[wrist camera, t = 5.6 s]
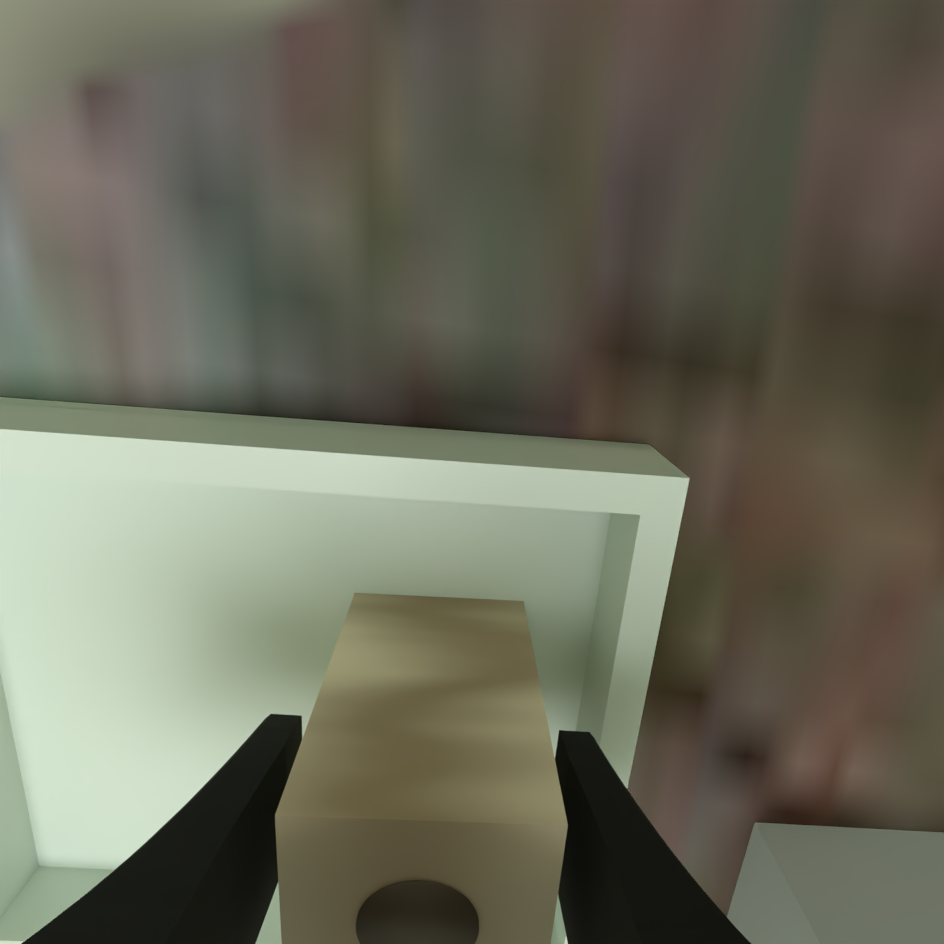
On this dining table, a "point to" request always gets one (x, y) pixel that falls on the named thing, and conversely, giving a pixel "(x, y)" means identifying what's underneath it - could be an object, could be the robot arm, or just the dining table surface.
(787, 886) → the large block
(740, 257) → the dining table surface
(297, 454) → the tray
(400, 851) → the small block
